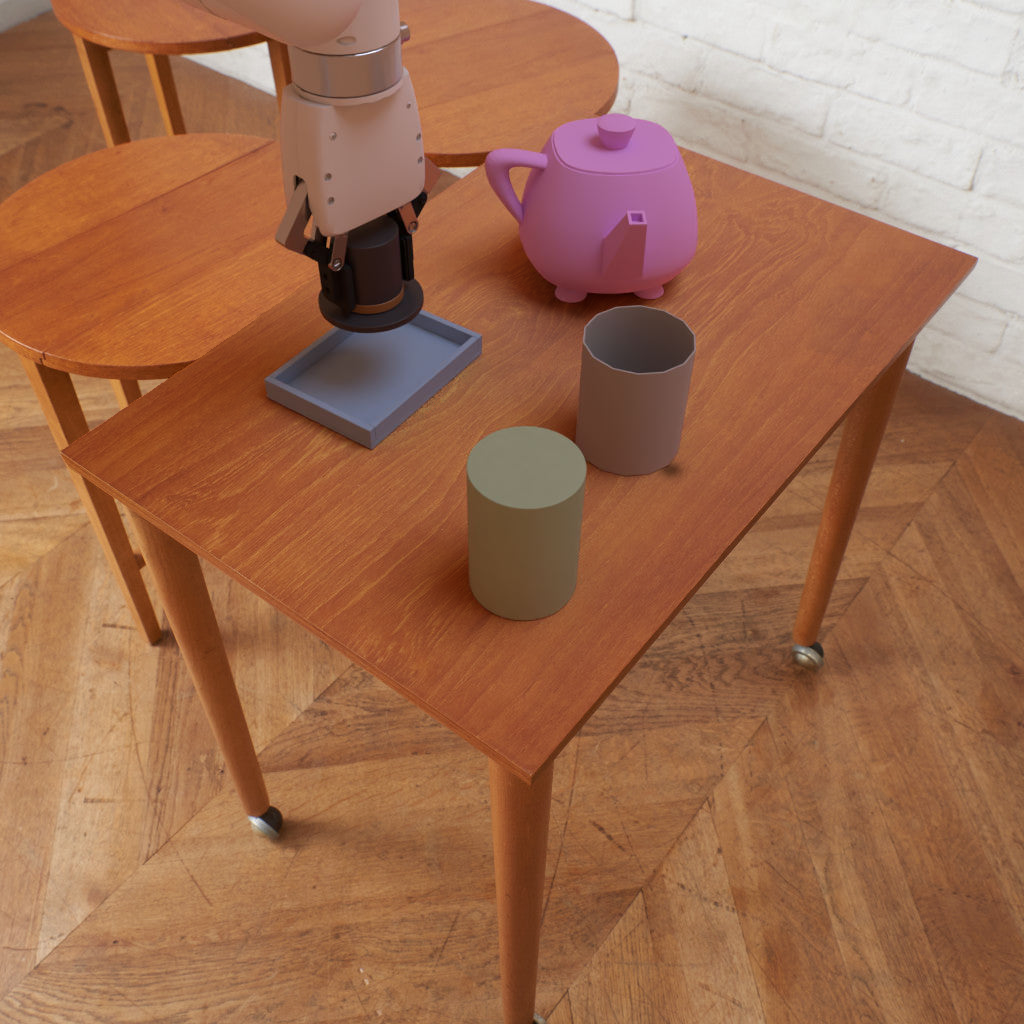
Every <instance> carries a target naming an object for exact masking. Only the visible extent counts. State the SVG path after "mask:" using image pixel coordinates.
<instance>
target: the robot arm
mask: <svg viewBox="0 0 1024 1024" xmlns="http://www.w3.org/2000/svg"><path fill="white" fill-rule="evenodd" d="M179 2H181V3H183V4H185V5H187V6H190V7H192V8H194V9H197V10H200V11H203V12H205V13H207V14H210V15H212V16H215V17H218V18H220V19H223V20H225V21H230V22H232V23H234V24H237V25H239V26H241V27H243V28H246V29H249V30H251V31H253V32H256V33H258V34H261V35H262V36H265V37H267V38H268V39H269V38H270V39H272V40H274V41H276V42H279V43H281V44H284V45H286V47H287V54H288V55H287V56H288V61H289V68H290V75H291V76H290V77H291V81H292V82H291V83H288V84H287V85H285V86H283V88H282V94H281V103H280V115H279V119H280V120H279V141H280V161H281V173H282V182H283V191H284V199H285V205H286V209H285V212H284V215H283V217H282V219H281V221H280V223H279V225H278V228H277V229H276V232H275V234H274V241H275V242H276V243H277V244H279V245H280V246H282V247H283V248H285V249H286V250H288V251H291V252H293V253H296V254H299V255H301V256H305V257H307V258H309V259H311V260H312V261H314V262H316V263H317V268H318V273H319V281H320V288H321V289H322V293H323V295H324V297H325V298H326V299H327V300H329V301H330V302H332V303H334V304H335V305H337V306H338V307H340V308H341V309H343V310H344V311H346V312H347V313H349V312H351V311H353V310H355V307H356V303H355V294H354V286H353V277H352V270H351V267H350V266H349V265H347V264H345V263H344V260H345V253H346V247H347V240H348V233H349V231H350V230H352V229H354V228H356V227H359V226H361V225H363V224H365V223H367V222H369V221H371V220H373V219H376V218H378V217H380V216H382V215H386V216H388V217H390V218H392V219H393V220H394V221H395V222H396V223H397V225H398V228H399V241H400V254H401V267H402V279H403V280H405V281H410V280H412V279H414V278H415V264H414V260H415V257H414V244H413V235H414V234H415V233H417V231H418V230H419V226H420V224H419V220H418V218H419V216H420V215H421V213H422V211H423V209H424V208H425V206H426V204H427V201H428V194H430V193H431V192H432V190H433V188H434V187H435V185H436V184H437V182H438V180H439V179H440V178H441V177H440V176H441V173H442V172H441V169H440V168H439V167H438V166H437V165H436V164H435V163H434V162H432V161H431V160H430V159H429V158H428V157H427V156H426V155H425V147H424V139H423V131H422V123H421V117H420V113H419V107H418V101H417V98H416V94H415V93H416V92H415V89H414V86H413V82H412V78H411V76H410V72H409V70H408V69H407V67H406V66H404V63H403V48H402V47H403V46H402V45H403V44H404V43H406V42H409V41H410V39H411V30H410V27H409V25H408V24H407V23H406V22H405V21H402V20H401V17H400V16H401V15H400V2H399V0H179ZM311 218H312V222H311V231H310V237H309V236H307V235H305V230H306V228H307V226H308V223H309V221H310V219H311ZM330 237H331V238H330ZM328 238H330V240H329V246H328V247H327V244H328ZM321 289H320V290H321Z"/></svg>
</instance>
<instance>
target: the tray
mask: <svg viewBox="0 0 1024 1024" xmlns="http://www.w3.org/2000/svg"><path fill="white" fill-rule="evenodd" d="M482 354H483V335H482V334H481V333H479V332H476V331H474V330H472V329H469V328H467V327H464V326H462V325H459V324H457V323H455V322H452V321H451V320H448V319H446V318H443V317H441V316H439V315H436V314H434V313H431V312H429V311H426V310H425V309H423V308H422V309H421V311H420V313H419V314H418V315H417V316H416V317H415V318H414V319H413V320H412V321H410V322H409V323H407V324H405V325H403V326H401V327H399V328H396V329H393V330H390V331H385V332H380V333H356V332H350V331H346V330H343V329H340V328H338V327H335V326H333V327H332V328H331V329H330V330H329V331H327V332H325V333H324V334H323V335H321V336H320V337H319V338H318V339H316V340H315V341H314V342H312V343H310V344H309V345H308V346H307V347H305V348H304V349H302V350H301V351H300V352H299V353H297V354H296V355H295V356H293V357H292V358H291V359H289V360H288V361H287V362H285V363H283V365H281V366H280V367H278V368H277V369H276V370H274V371H273V372H271V373H270V374H269V375H268V376H266V377H265V378H264V379H263V381H264V386H265V391H266V396H267V398H268V399H270V400H271V401H273V402H276V404H279V405H282V406H283V407H285V408H287V409H289V410H291V411H293V412H295V413H298V414H300V415H301V416H304V417H306V418H308V419H310V420H312V421H314V422H315V423H317V424H319V425H321V426H323V427H325V428H328V429H329V430H331V431H334V432H335V433H337V434H339V435H341V436H343V437H346V438H348V439H349V440H352V441H353V442H355V443H357V444H360V445H362V446H364V448H367V449H369V450H373V449H374V448H376V447H377V446H378V445H379V444H381V442H383V441H384V440H385V439H386V438H387V437H388V436H389V435H390V434H392V433H393V432H394V431H395V430H397V428H399V427H400V426H401V425H402V424H404V422H406V421H407V420H408V419H409V418H410V417H411V416H413V414H415V413H416V412H417V411H418V410H419V409H420V408H421V407H422V406H424V405H425V404H426V403H427V402H428V401H430V400H431V399H432V398H433V397H434V396H435V395H436V394H437V393H439V392H440V391H441V390H442V389H443V388H445V386H447V385H448V384H449V383H451V381H452V380H453V379H454V378H456V377H457V376H458V375H459V374H460V373H461V372H462V371H464V370H465V369H466V368H467V367H469V365H471V364H472V363H473V362H474V361H475V360H476V359H477V358H478V357H480V356H481V355H482Z"/></svg>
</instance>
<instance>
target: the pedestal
mask: <svg viewBox="0 0 1024 1024" xmlns="http://www.w3.org/2000/svg"><path fill="white" fill-rule="evenodd" d="M465 470H466V471H465V472H466V509H467V549H468V551H467V552H468V554H467V555H468V579H469V580H468V583H469V587H470V590H471V593H472V595H473V597H474V598H475V599H476V601H477V602H478V603H479V604H480V605H481V606H482V607H483V608H484V609H486V610H487V611H489V612H490V613H492V614H494V615H495V616H498V617H500V618H504V619H508V620H513V621H535V620H540V619H543V618H547V617H550V616H551V615H553V614H555V613H557V612H559V611H560V610H561V609H563V608H564V607H565V606H566V605H567V604H568V603H569V602H570V600H572V598H573V596H574V595H575V592H576V589H577V584H578V583H577V582H578V571H579V561H580V559H579V558H580V551H581V538H582V526H583V518H584V517H583V516H584V504H585V492H586V483H587V471H588V469H587V460H586V459H585V458H584V456H583V454H582V452H581V451H580V449H579V448H578V447H577V446H576V444H575V442H574V441H572V440H571V439H570V438H569V437H567V436H565V435H563V434H561V433H559V432H557V431H556V430H552V429H548V428H546V427H540V426H531V425H522V426H521V425H518V426H510V427H505V428H502V429H499V430H495V431H494V432H492V433H489V434H488V435H486V436H484V437H483V438H482V439H480V440H479V441H478V442H477V443H476V444H475V445H474V446H473V447H472V449H471V450H470V452H469V454H468V456H467V460H466V466H465Z"/></svg>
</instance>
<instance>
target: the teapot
mask: <svg viewBox="0 0 1024 1024" xmlns="http://www.w3.org/2000/svg"><path fill="white" fill-rule="evenodd" d="M512 168H529V169H530V171H529V173H528V175H527V178H526V181H525V185H524V189H523V193H522V197H521V201H520V199H519V198H518V196H517V194H516V192H515V189H514V187H513V185H512V182H511V178H510V170H512ZM484 170H485V175H486V178H487V180H488V184H489V186H490V188H491V189H492V190H493V192H494V193H495V195H496V196H497V198H498V199H499V200H500V202H501V204H502V205H503V206H504V207H505V209H506V210H507V211H508V212H509V214H510V215H511V216H512V218H514V219H515V221H516V222H517V223H518V235H519V239H520V242H521V246H522V248H523V250H524V253H525V255H526V256H527V258H528V260H529V261H530V263H531V265H532V266H533V267H534V269H535V270H536V271H537V272H538V274H540V276H541V277H542V278H543V279H544V280H545V281H547V282H548V283H550V284H552V285H555V286H556V288H555V291H554V295H555V297H556V299H558V300H559V301H561V302H564V303H568V304H569V303H579V302H582V301H584V300H585V299H586V298H587V296H588V293H589V294H590V293H591V294H603V295H605V294H606V295H607V294H610V295H612V294H613V295H615V294H628V293H633V294H634V295H635V296H636V297H637V298H640V299H644V300H655V299H658V298H660V297H662V296H663V295H664V294H665V289H664V286H663V285H665V284H667V283H669V282H671V281H672V280H674V278H676V277H677V276H678V275H679V274H681V272H683V271H684V270H685V269H686V268H687V267H688V266H689V265H690V263H691V262H692V261H693V258H694V257H695V255H696V252H697V248H698V241H699V240H698V239H699V238H698V237H699V234H698V233H699V220H698V209H697V201H696V196H695V190H694V187H693V184H692V181H691V178H690V175H689V172H688V170H687V167H686V163H685V161H684V159H683V156H682V153H681V151H680V149H679V147H678V145H677V143H676V141H675V139H674V137H673V136H672V134H671V133H670V132H669V131H668V130H667V129H666V128H665V127H664V126H662V125H661V124H659V123H656V122H654V121H650V120H646V119H640V118H634V117H633V116H630V115H627V114H623V113H605V114H603V115H601V116H599V117H590V118H582V119H577V120H572V121H569V122H566V123H563V124H561V125H560V126H558V127H556V129H554V130H553V132H552V133H551V134H550V136H549V137H548V139H547V140H546V142H545V143H544V144H543V146H542V148H541V150H540V152H537V151H532V150H527V149H521V148H511V147H509V148H507V147H506V148H497V149H494V150H492V151H490V152H489V153H488V154H487V155H486V156H485V160H484Z"/></svg>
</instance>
